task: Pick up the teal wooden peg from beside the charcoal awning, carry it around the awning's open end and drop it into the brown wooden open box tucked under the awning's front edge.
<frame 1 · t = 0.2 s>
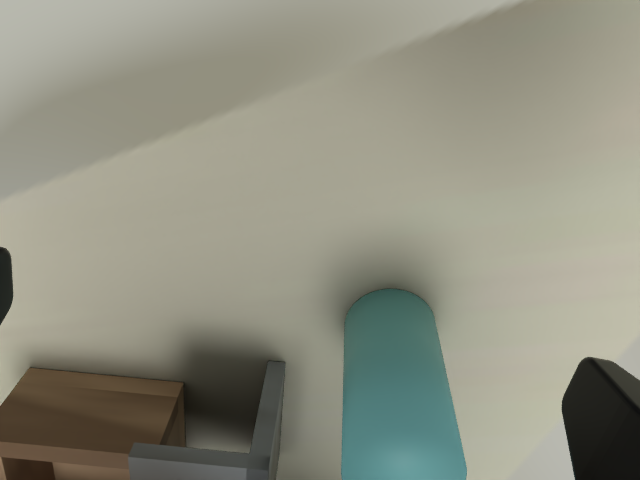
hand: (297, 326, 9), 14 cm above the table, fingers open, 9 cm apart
peg: (389, 327, 26), on the table
brown wooden open box: (112, 432, 30), on the table
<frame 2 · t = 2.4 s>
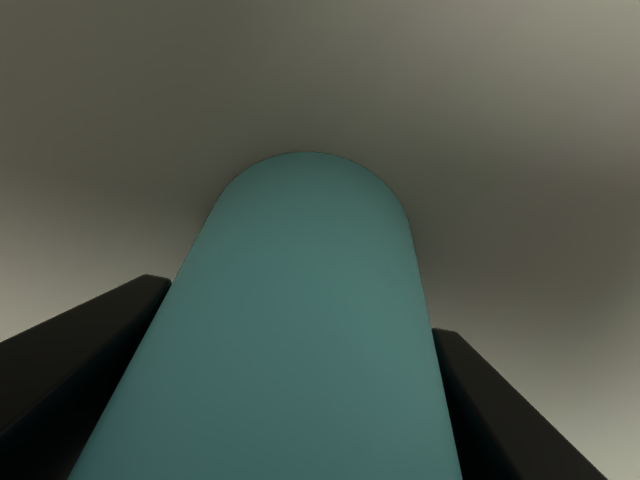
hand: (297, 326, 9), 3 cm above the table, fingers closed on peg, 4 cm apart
peg: (308, 250, 11), on the table, touching gripper
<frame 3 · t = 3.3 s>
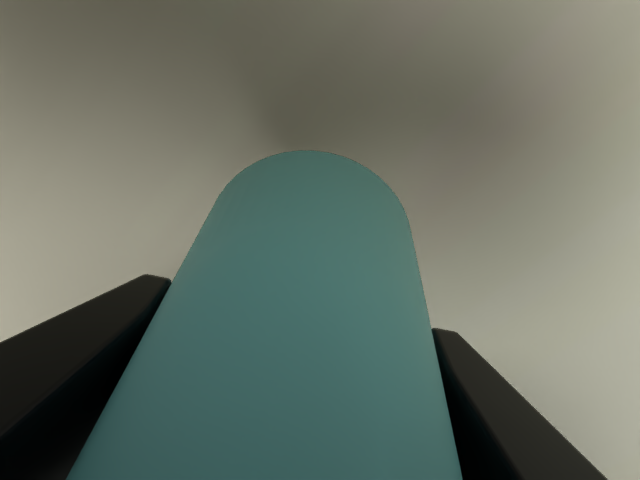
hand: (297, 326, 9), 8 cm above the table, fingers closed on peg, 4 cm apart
peg: (308, 249, 11), point 6 cm above the table, touching gripper
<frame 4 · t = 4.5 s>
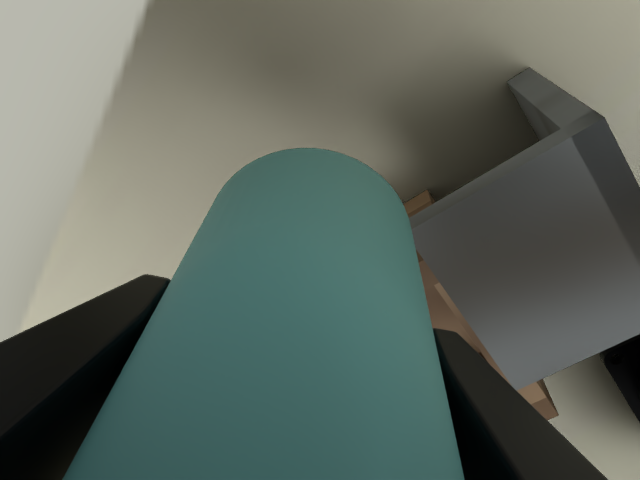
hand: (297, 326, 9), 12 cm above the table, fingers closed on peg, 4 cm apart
peg: (308, 247, 11), point 9 cm above the table, touching gripper
brown wooden open box: (393, 311, 23), on the table
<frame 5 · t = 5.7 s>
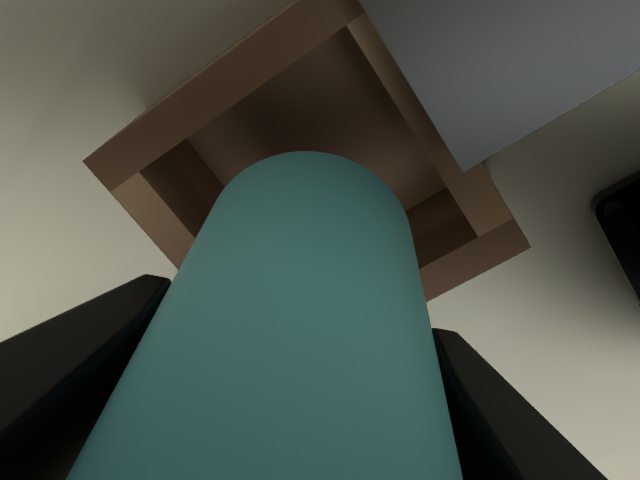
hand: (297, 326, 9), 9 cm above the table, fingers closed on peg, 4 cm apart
peg: (308, 250, 11), point 7 cm above the table, touching gripper
brown wooden open box: (319, 145, 17), on the table
when the fingers open (5 cm above the table, at t = 6.9 s): peg drops 2 cm, resting on brown wooden open box.
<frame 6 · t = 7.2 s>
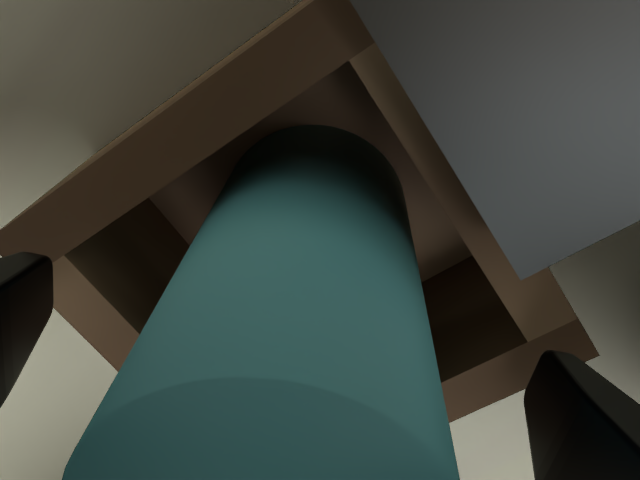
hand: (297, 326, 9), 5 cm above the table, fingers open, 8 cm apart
peg: (314, 213, 13), point 1 cm above the table, touching brown wooden open box
brown wooden open box: (314, 197, 14), on the table
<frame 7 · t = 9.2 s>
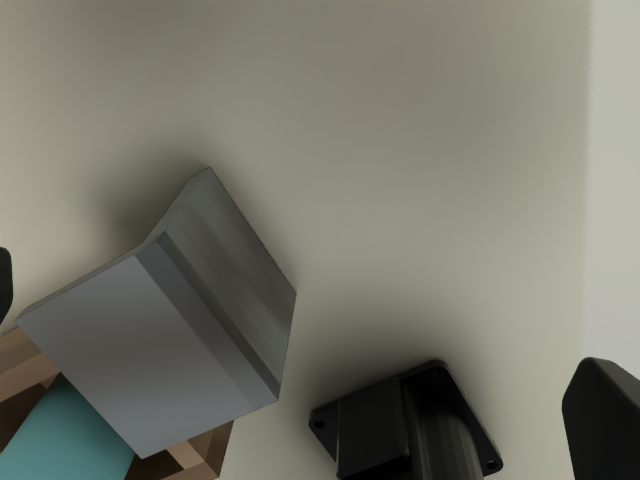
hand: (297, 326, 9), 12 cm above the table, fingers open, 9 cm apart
peg: (114, 381, 24), point 1 cm above the table, touching brown wooden open box
brown wooden open box: (121, 366, 25), on the table
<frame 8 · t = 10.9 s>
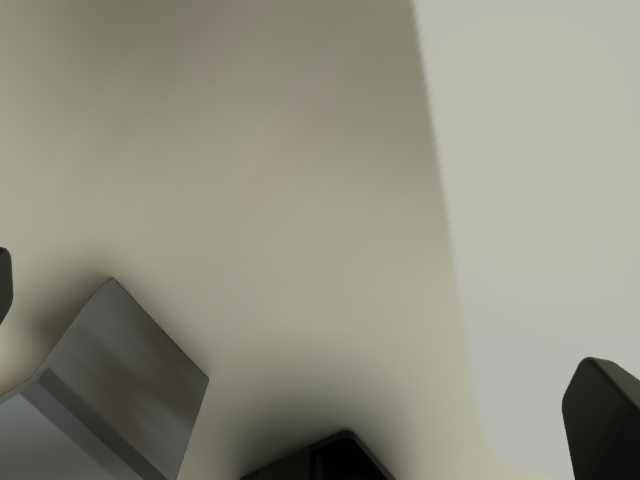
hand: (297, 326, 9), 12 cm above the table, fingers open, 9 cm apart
brown wooden open box: (62, 449, 27), on the table
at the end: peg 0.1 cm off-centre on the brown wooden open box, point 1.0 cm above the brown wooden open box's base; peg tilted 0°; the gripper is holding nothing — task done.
